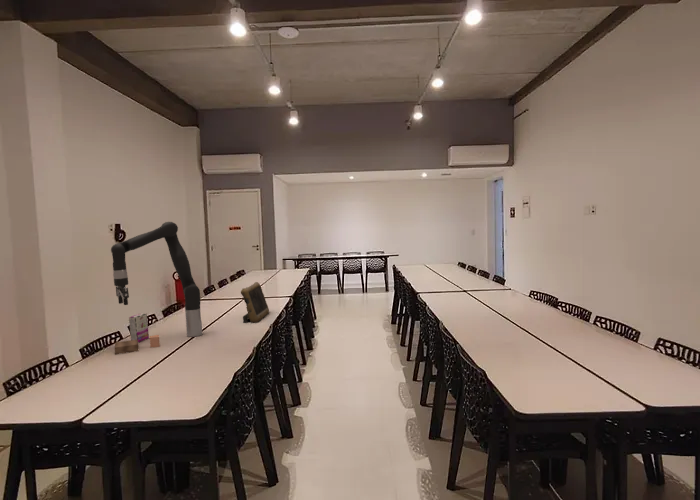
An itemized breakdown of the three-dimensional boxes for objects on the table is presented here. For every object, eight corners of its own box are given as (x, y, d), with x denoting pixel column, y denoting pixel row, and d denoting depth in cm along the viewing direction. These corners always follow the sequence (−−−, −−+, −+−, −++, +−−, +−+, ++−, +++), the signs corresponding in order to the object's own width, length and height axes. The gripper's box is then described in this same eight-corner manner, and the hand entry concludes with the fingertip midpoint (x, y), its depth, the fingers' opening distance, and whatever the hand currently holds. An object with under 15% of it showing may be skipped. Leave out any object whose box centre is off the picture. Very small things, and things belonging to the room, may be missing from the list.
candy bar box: (142, 338, 288) (140, 312, 287) (149, 338, 287) (147, 313, 286) (130, 343, 277) (128, 317, 276) (137, 343, 276) (135, 317, 275)
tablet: (260, 323, 317) (259, 288, 316) (241, 323, 318) (239, 288, 316) (269, 313, 350) (268, 281, 348) (252, 313, 350) (250, 281, 348)
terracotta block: (159, 344, 272) (158, 334, 271) (159, 346, 267) (159, 336, 267) (150, 345, 269) (149, 336, 269) (150, 347, 265) (149, 337, 264)
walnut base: (138, 345, 270) (137, 339, 269) (138, 351, 259) (138, 344, 259) (116, 349, 265) (115, 342, 264) (115, 354, 254) (114, 347, 253)
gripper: (131, 277, 264) (134, 304, 266) (123, 275, 275) (125, 301, 276) (118, 279, 259) (120, 306, 261) (109, 277, 269) (112, 304, 271)
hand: (123, 304), depth 268 cm, fingers open, 8 cm apart
